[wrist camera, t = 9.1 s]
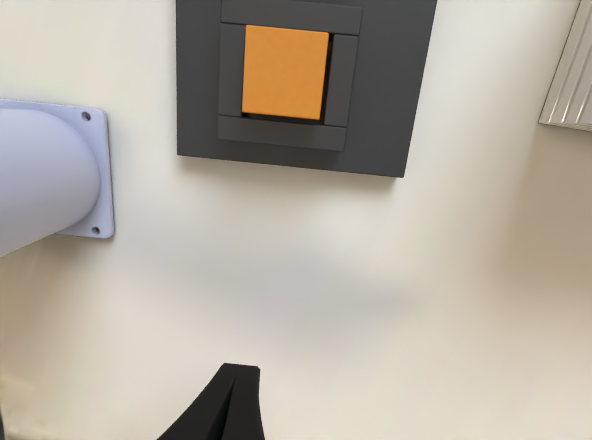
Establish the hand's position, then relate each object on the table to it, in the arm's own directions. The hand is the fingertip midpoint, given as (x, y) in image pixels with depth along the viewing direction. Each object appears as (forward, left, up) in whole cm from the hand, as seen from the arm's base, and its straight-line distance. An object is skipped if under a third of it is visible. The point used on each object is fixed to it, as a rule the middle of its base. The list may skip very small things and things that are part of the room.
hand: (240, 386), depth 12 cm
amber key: (0, +11, -8) cm, 14 cm away
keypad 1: (+1, +11, -10) cm, 16 cm away
